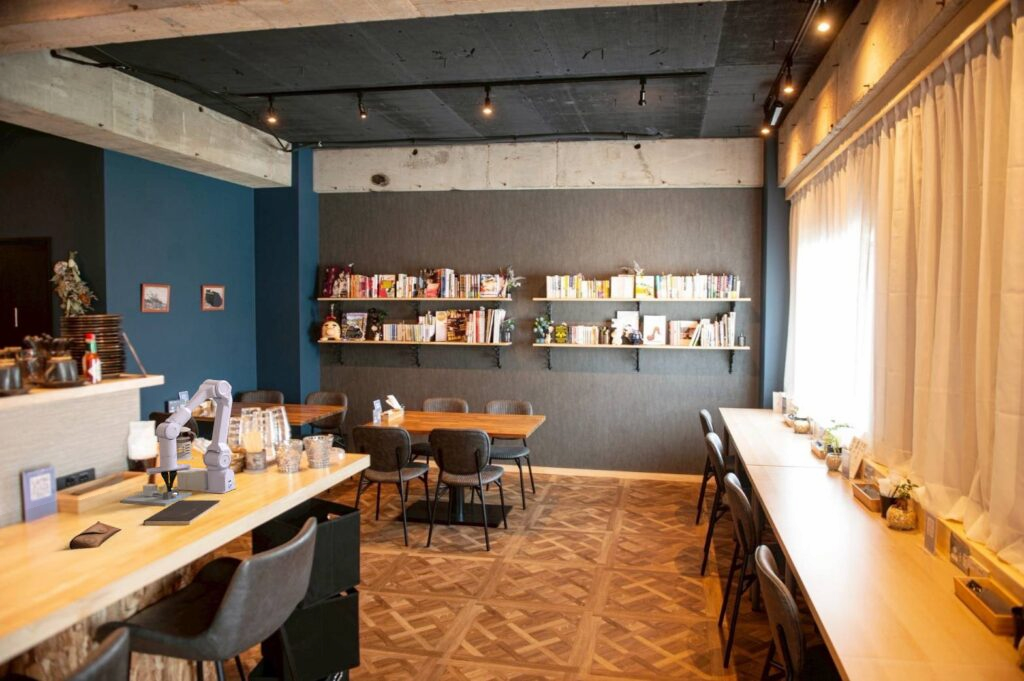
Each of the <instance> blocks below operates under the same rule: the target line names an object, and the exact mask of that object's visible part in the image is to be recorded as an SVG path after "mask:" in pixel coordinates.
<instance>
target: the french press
mask: <svg viewBox="0 0 1024 681" xmlns="http://www.w3.org/2000/svg"><path fill="white" fill-rule="evenodd" d="M180 407H181V406H178V408H180ZM186 432H187V433H188V435H189V436H183V433H186ZM180 433H181V435H180V436H179V437H178V436H177V437H176V447H177V462H178V461H180V460H181V461H189V460H192V459H194V456H193V455H192V447H193V445H192V443H191V442H192V441H191V440H190V439H191V437H190V435H191V434H193V438H194V439H193V440H195V441H196V437H197V435H196V433H195V432H194V431H191V428H189V427H187V426H182V428H181V429H180ZM188 459H189V460H188ZM181 461H180V462H181Z"/></svg>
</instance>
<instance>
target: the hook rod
mask: <svg viewBox="0 0 1024 681" xmlns="http://www.w3.org/2000/svg"><path fill="white" fill-rule="evenodd" d="M158 491H159V486H158V484H156V483H147V484H145V485H142V492H143V496H148V497H153V496H156V495H158V496H163V493H162V494H160V493H159V492H158ZM171 496H172V497H177V496H178V493H171Z"/></svg>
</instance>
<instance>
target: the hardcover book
mask: <svg viewBox="0 0 1024 681" xmlns="http://www.w3.org/2000/svg"><path fill="white" fill-rule="evenodd" d="M220 502H221V500H220V499H213V500H211V499H210V500H209V499H208V500H207V499H206V500H205V499H202V500H201V499H200V500H199V499H197V500H196V499H194V500H193V499H192V500H190V499H188V500H187V499H185V500H183V499H181V500H179V501H177V502H174V503H172V504H169V506H168V505H167V507H165V508H163V509H162V510H160V511H158V512H156V513H154V514H153V515H151V516H149V517H148V518H146V519H144V520H143V521H142V522H143V526H145V525H146V526H153V525H155V526H156V525H157V526H160V525H161V526H162V525H163V526H164V525H165V526H167V525H169V526H171V525H173V526H174V525H175V526H177V525H178V526H181V525H182V526H184V525H185V526H186V525H187V526H189V525H191V524H193V523H194V522H196V521H197V520H199V519H200V518H202V517H203V516H205V515H206V514H208V513H210V512H211V511H213V510H214V509H215V508H217V507H219V506H220Z"/></svg>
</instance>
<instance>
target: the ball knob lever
mask: <svg viewBox="0 0 1024 681" xmlns="http://www.w3.org/2000/svg"><path fill="white" fill-rule="evenodd" d="M173 488H174V485H173V486H172V490H173ZM158 491H159V493H160V494H162V493H165V492H167V486H166V484H165V483H164V484H162V485H160V486H158Z"/></svg>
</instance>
